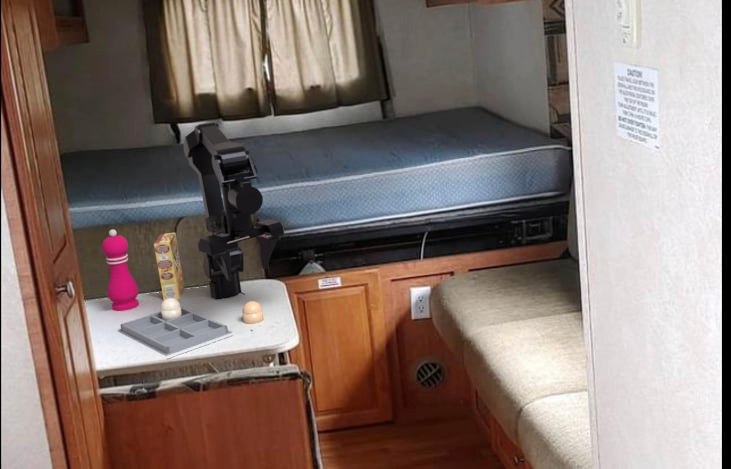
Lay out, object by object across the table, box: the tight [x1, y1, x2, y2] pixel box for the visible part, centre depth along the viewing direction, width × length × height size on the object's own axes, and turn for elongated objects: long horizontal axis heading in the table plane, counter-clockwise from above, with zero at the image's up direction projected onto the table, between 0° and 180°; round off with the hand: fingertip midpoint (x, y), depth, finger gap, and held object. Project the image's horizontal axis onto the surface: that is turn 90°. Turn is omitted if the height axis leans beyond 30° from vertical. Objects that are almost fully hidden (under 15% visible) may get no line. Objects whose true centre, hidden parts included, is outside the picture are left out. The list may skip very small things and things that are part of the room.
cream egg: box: [160, 298, 182, 321], centre depth 216 cm, size 4×4×5 cm
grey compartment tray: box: [117, 306, 234, 360], centre depth 209 cm, size 16×23×2 cm
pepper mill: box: [101, 228, 140, 312], centre depth 227 cm, size 7×7×20 cm
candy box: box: [153, 232, 185, 301], centre depth 233 cm, size 9×4×15 cm, turn 2°
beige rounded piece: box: [241, 300, 264, 327], centre depth 211 cm, size 4×4×5 cm
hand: (247, 274), depth 208 cm, fingers open, 9 cm apart
